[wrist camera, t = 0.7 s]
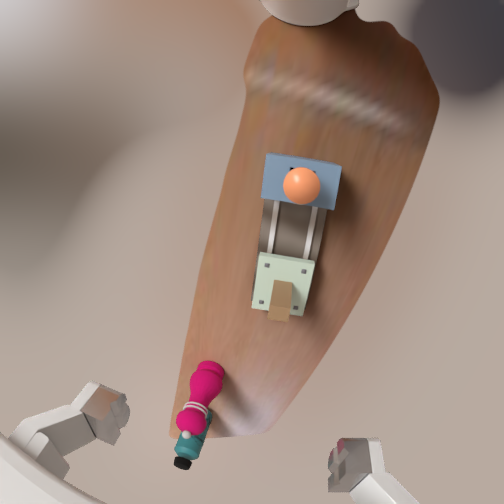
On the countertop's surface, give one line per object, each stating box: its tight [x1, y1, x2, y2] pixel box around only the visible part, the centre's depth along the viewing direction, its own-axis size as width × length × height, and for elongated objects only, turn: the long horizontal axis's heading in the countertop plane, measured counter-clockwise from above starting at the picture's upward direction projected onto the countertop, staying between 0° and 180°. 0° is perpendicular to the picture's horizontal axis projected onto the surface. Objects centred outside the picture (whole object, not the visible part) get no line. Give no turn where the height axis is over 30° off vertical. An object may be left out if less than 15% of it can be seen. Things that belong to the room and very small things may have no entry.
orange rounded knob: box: [283, 167, 320, 204], centre depth 35 cm, size 4×4×5 cm
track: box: [251, 199, 327, 310], centre depth 48 cm, size 20×10×2 cm, turn 173°
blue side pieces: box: [261, 153, 342, 210], centre depth 40 cm, size 6×10×8 cm, turn 83°
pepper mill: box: [176, 361, 224, 439], centre depth 53 cm, size 7×7×20 cm
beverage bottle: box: [174, 409, 212, 470], centre depth 59 cm, size 6×7×20 cm
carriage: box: [252, 252, 315, 322], centre depth 44 cm, size 10×9×10 cm
